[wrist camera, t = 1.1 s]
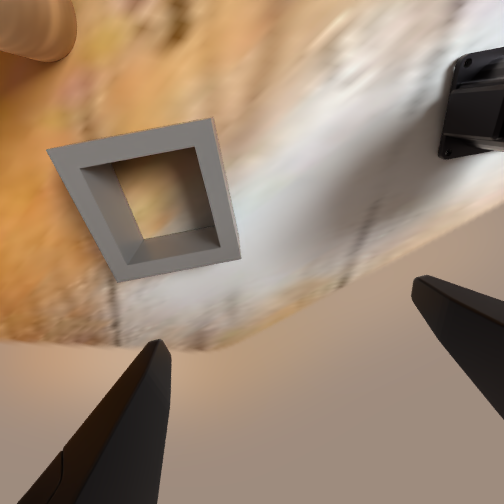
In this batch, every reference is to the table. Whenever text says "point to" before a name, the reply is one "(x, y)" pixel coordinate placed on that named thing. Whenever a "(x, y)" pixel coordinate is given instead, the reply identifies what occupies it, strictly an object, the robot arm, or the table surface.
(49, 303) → the table surface
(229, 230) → the square sleeve socket
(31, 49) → the wooden peg
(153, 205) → the table surface
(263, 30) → the table surface
